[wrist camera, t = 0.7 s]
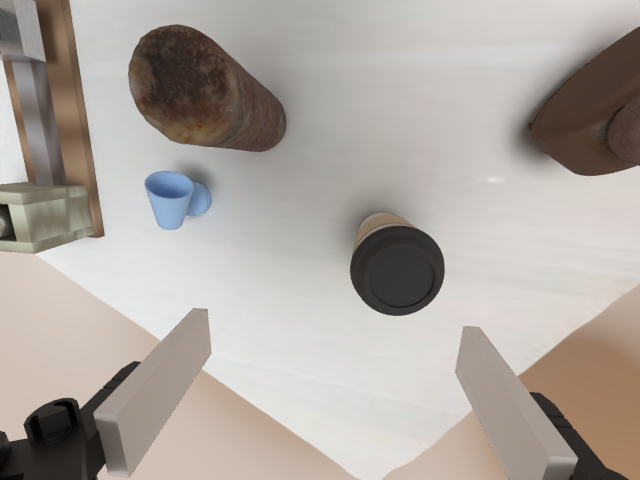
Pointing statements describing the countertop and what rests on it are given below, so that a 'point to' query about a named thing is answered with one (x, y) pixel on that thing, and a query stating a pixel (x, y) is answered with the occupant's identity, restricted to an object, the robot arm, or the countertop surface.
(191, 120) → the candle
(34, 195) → the rail
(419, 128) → the countertop surface
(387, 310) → the coffee cup
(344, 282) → the countertop surface
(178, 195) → the spotlight
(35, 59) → the carriage
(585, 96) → the alarm clock
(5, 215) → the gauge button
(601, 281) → the countertop surface
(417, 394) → the countertop surface
